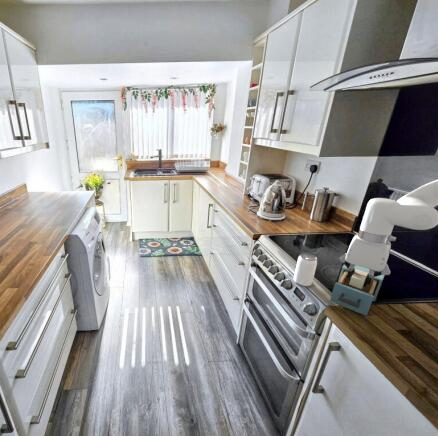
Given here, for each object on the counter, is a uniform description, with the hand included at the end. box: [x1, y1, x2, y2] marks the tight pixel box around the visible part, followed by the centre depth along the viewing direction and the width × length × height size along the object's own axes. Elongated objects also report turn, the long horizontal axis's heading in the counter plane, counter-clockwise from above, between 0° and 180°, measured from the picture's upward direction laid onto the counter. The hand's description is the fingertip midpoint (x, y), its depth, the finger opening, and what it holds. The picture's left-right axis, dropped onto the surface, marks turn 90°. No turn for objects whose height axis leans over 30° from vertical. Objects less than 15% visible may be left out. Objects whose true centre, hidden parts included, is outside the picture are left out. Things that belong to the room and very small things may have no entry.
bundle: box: [349, 269, 368, 289], centre depth 84 cm, size 7×4×3 cm, turn 131°
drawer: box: [329, 271, 377, 317], centre depth 84 cm, size 17×10×8 cm, turn 131°
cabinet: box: [337, 263, 385, 303], centre depth 93 cm, size 13×11×9 cm
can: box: [293, 252, 318, 287], centre depth 96 cm, size 6×6×12 cm
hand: (357, 281), depth 85 cm, fingers closed on bundle, 3 cm apart
